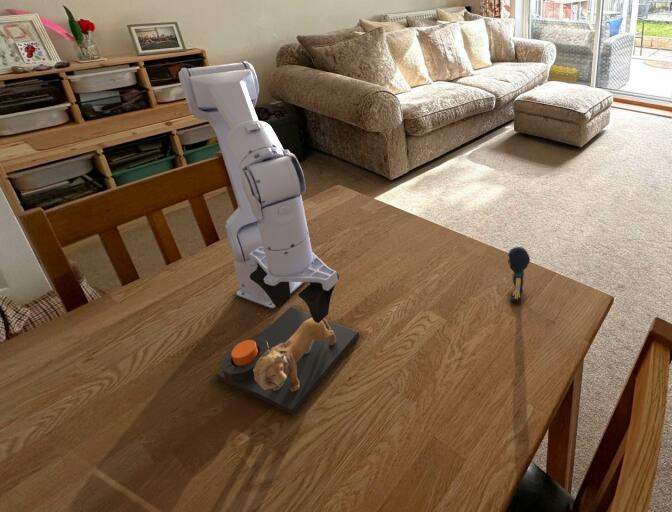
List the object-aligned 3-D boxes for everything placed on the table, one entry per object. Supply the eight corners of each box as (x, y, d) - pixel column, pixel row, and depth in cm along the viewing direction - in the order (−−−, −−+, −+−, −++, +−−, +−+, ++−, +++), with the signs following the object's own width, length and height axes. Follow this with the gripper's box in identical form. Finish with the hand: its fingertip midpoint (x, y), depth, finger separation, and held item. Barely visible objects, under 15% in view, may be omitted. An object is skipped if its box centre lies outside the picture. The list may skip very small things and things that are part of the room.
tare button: (228, 362, 61) (226, 354, 61) (247, 345, 64) (245, 337, 64) (244, 369, 60) (241, 360, 60) (262, 351, 63) (260, 343, 63)
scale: (216, 379, 62) (212, 365, 60) (292, 311, 74) (289, 298, 73) (292, 415, 57) (288, 401, 56) (359, 336, 69) (357, 323, 68)
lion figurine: (288, 420, 55) (275, 374, 52) (252, 413, 56) (237, 368, 53) (344, 331, 69) (336, 290, 65) (315, 327, 69) (306, 286, 66)
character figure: (507, 280, 82) (509, 232, 78) (527, 281, 82) (530, 233, 78) (505, 317, 74) (506, 264, 69) (527, 318, 74) (530, 265, 69)
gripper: (221, 241, 56) (243, 315, 61) (303, 269, 51) (319, 346, 56) (266, 214, 62) (282, 283, 67) (342, 237, 57) (354, 309, 62)
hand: (302, 310), depth 62 cm, fingers open, 7 cm apart
